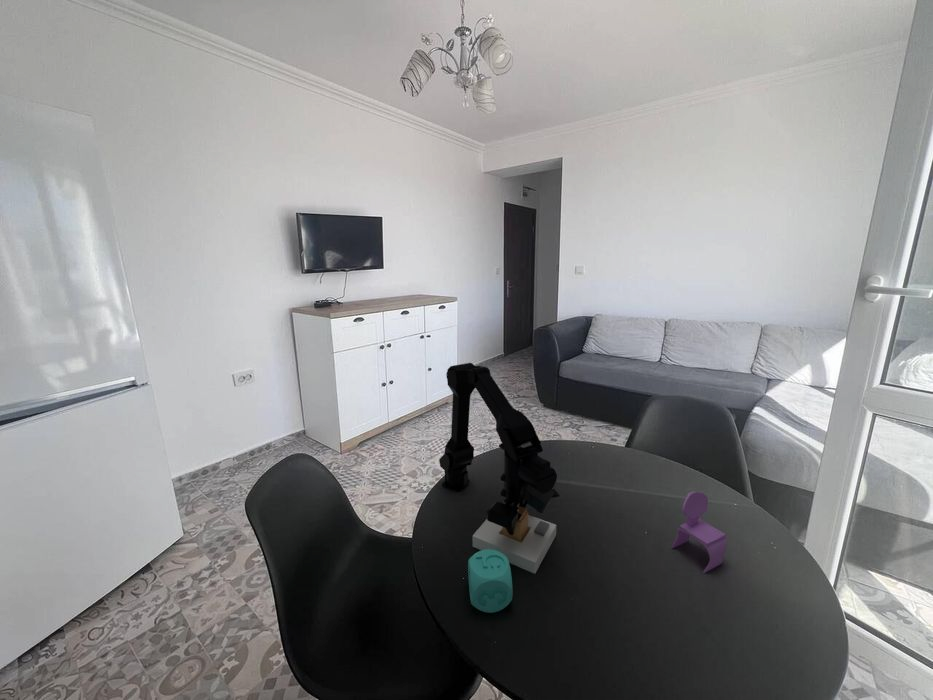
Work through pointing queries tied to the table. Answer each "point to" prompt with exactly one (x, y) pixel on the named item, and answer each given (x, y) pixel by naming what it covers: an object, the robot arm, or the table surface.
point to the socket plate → (518, 553)
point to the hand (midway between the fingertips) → (515, 528)
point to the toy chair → (701, 529)
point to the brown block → (519, 526)
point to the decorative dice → (489, 580)
